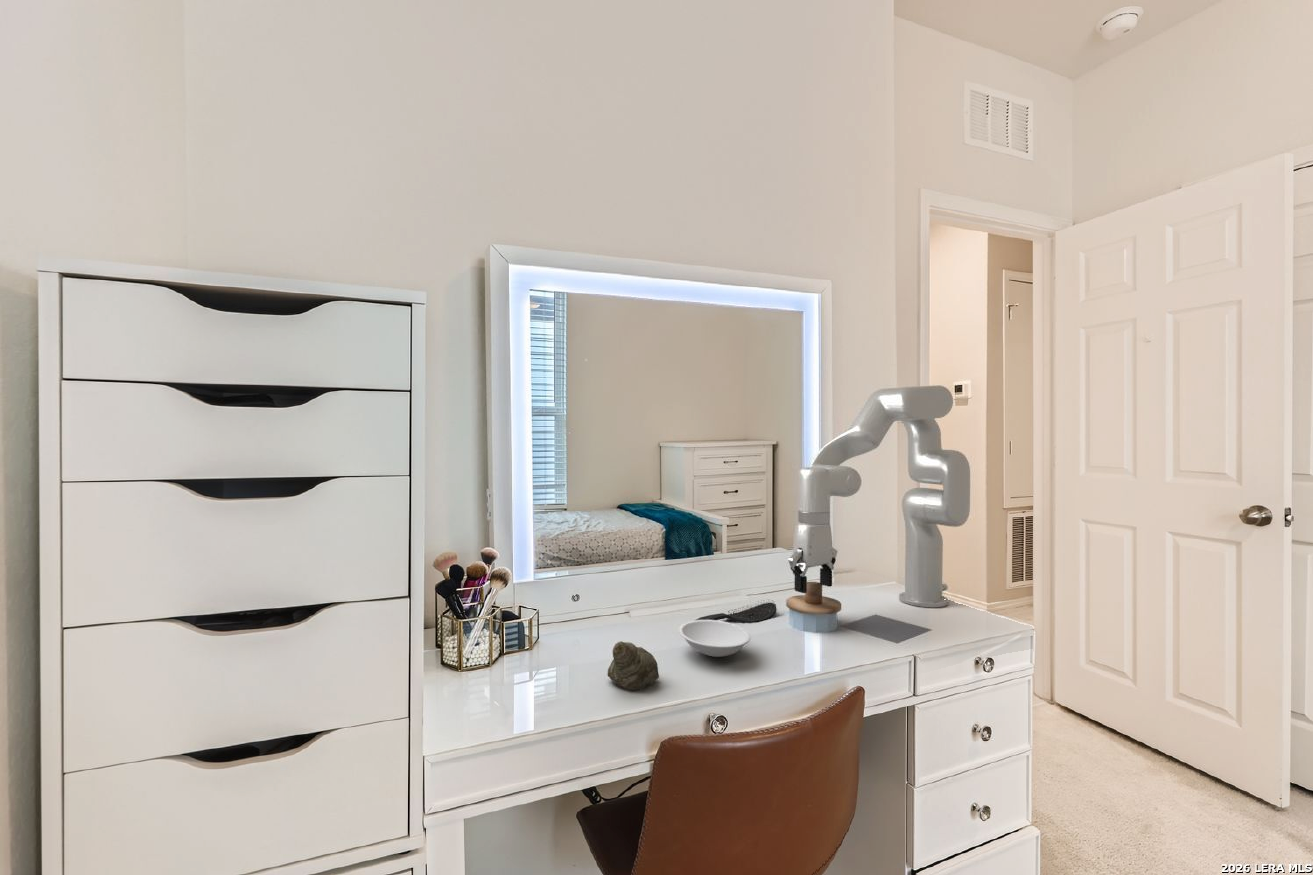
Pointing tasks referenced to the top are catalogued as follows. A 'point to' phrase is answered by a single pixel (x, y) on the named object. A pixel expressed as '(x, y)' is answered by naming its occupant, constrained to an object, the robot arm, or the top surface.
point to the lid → (813, 601)
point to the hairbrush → (747, 614)
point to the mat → (886, 628)
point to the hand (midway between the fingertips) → (813, 588)
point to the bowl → (813, 621)
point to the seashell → (632, 666)
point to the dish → (714, 637)
